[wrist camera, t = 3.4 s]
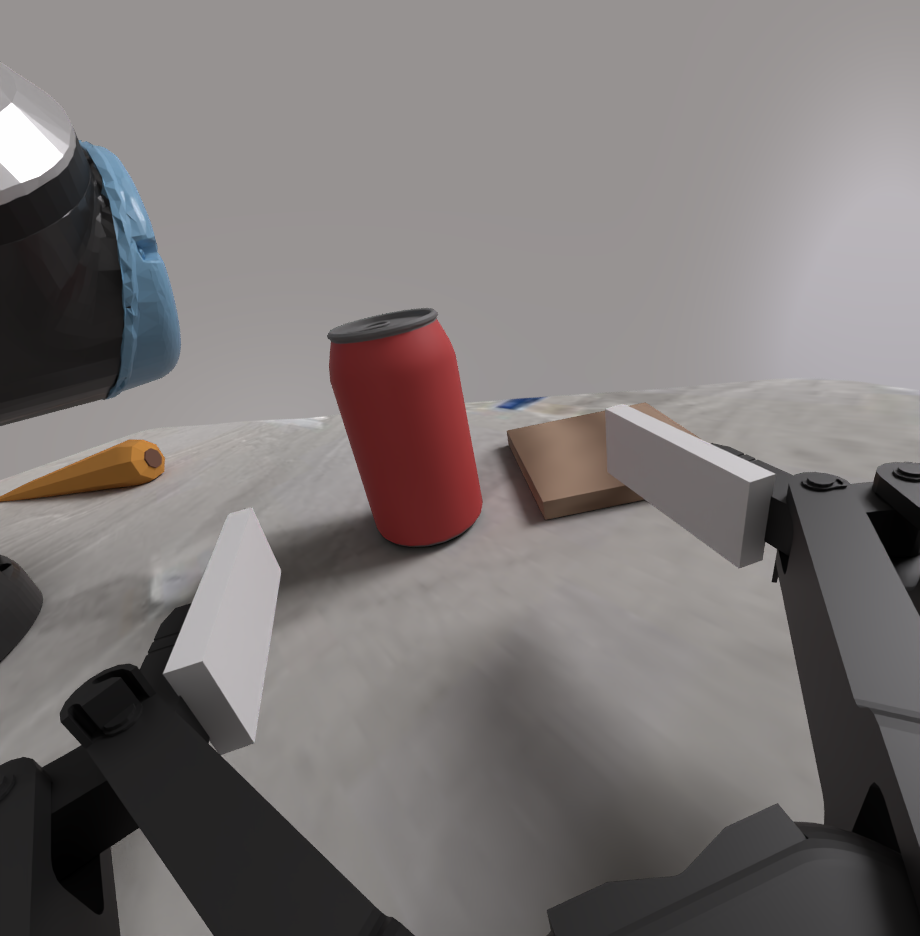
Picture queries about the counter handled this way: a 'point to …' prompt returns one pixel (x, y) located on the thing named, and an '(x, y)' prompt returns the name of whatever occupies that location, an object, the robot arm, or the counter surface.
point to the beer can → (407, 425)
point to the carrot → (98, 472)
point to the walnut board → (573, 463)
